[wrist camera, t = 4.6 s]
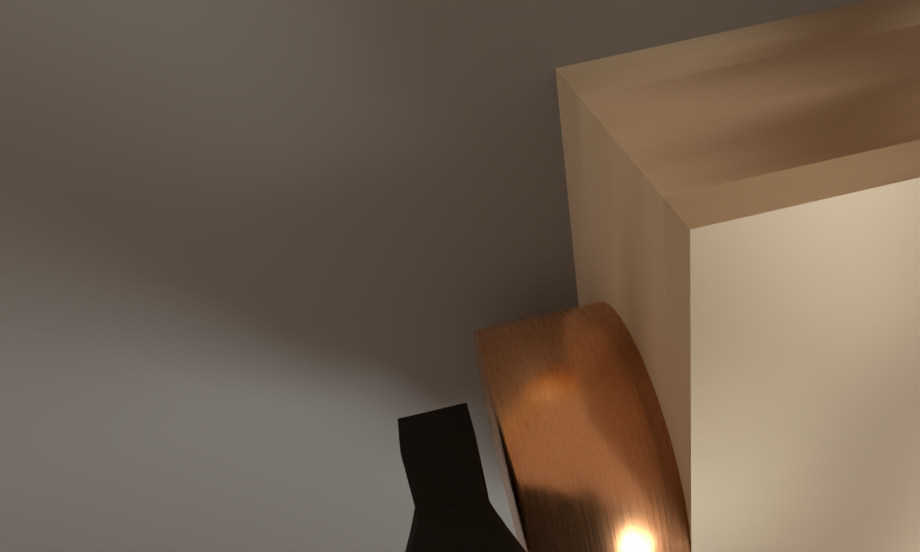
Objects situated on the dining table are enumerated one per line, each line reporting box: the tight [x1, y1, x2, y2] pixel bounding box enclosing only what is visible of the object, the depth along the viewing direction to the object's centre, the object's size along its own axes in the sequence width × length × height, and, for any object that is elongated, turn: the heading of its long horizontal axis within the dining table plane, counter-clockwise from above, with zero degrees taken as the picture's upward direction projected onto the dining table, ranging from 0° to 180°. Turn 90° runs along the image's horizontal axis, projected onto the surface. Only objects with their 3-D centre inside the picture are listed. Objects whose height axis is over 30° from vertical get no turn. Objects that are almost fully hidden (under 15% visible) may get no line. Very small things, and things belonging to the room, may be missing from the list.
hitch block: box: [555, 0, 920, 552], centre depth 13 cm, size 6×10×5 cm, turn 9°
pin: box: [474, 301, 691, 552], centre depth 12 cm, size 10×4×4 cm, turn 99°
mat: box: [0, 0, 870, 552], centre depth 15 cm, size 24×16×1 cm, turn 99°
